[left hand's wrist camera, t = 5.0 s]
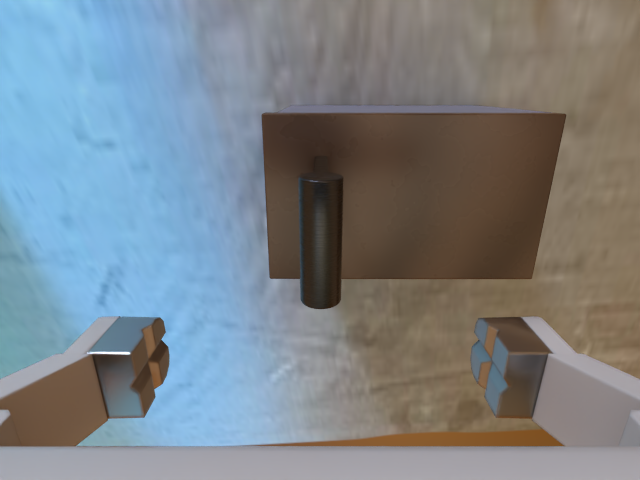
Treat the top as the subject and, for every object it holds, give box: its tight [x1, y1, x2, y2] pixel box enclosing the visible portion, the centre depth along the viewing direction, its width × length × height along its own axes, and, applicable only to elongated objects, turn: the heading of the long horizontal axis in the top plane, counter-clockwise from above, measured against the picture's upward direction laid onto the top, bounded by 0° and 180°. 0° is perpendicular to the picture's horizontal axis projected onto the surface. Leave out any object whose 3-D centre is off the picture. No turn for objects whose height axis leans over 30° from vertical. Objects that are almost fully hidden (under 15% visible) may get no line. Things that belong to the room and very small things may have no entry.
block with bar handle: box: [262, 113, 566, 309], centre depth 20 cm, size 16×10×8 cm, turn 90°
